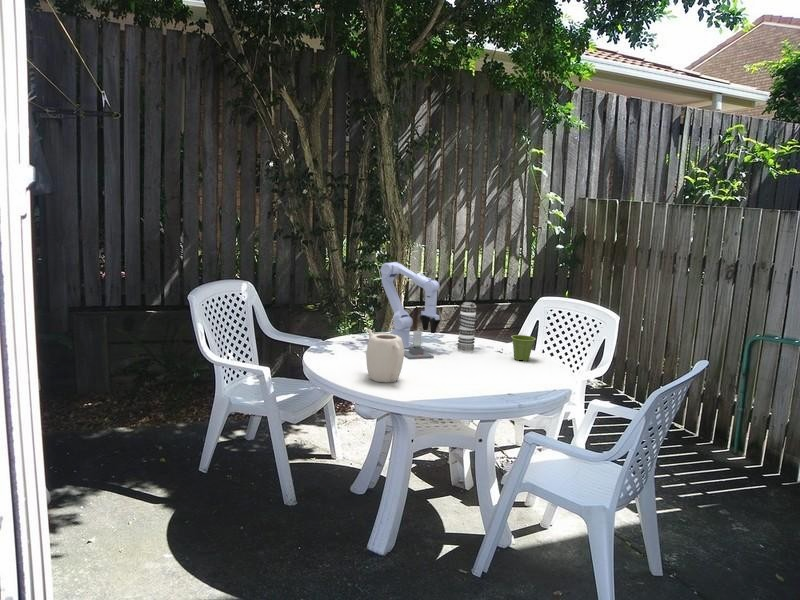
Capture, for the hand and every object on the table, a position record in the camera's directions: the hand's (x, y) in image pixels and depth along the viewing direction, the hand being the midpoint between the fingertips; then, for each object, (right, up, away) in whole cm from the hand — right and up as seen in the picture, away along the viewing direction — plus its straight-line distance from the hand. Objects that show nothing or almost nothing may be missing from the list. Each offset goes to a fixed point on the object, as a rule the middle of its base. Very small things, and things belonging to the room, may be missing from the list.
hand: (429, 331), depth 351 cm
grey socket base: (-7, -11, -8) cm, 15 cm away
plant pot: (+45, -14, -4) cm, 48 cm away
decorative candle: (+19, -11, +8) cm, 23 cm away
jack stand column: (-6, -7, -8) cm, 12 cm away
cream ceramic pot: (-22, -18, -53) cm, 60 cm away
